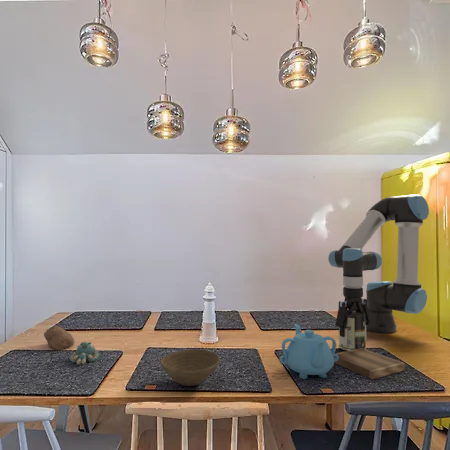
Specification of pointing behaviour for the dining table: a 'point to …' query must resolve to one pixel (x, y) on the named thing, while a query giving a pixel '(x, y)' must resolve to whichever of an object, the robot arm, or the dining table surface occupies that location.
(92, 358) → the stuffed animal
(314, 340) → the teapot
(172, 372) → the bowl
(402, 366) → the walnut board
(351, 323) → the coffee can
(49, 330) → the stone
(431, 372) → the dining table surface
